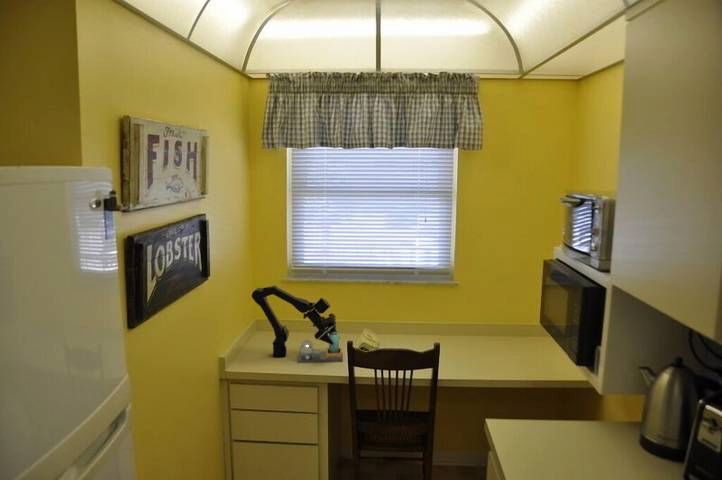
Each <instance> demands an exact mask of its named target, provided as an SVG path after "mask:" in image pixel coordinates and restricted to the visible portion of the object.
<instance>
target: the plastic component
mask: <svg viewBox="0 0 722 480" xmlns="http://www.w3.org/2000/svg"><path fill="white" fill-rule="evenodd" d="M378 346H379V335H377V333H376V332H374V331H372V330H370V329H368V328H364V329H363V330H362V333H361V334H360V335H359V337H358V339H357V342H356V346H355V349H356V348H359V350H360V349H361V348H364V349H367V350H368V351H370V350H372V349H376V350H377V349H378Z"/></svg>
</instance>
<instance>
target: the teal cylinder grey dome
mask: <svg viewBox="0 0 722 480" xmlns="http://www.w3.org/2000/svg"><path fill="white" fill-rule="evenodd" d="M328 336H329V337H330V339H331V340H332V341H333V343H334V344H333V345H331V344H329V343H328V348H329V353H339V348H340V342H339V341H340V339H339V337H340V334H339V333H338V331H337V332H330V333H328Z"/></svg>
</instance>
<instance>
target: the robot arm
mask: <svg viewBox="0 0 722 480" xmlns="http://www.w3.org/2000/svg"><path fill="white" fill-rule="evenodd" d="M251 293H252V294H251V298H252V300H253V301H254V302H255V303H256V304H257V305H258V306H259V307H260V308H261V310H262V311H263V313H264V315H265V317H266V318H267V320H268V322H269V323H270V325H271V327H272V329H273V332H274V336H275V338H274V340H273V342H272V346H273V347H272V351H273V352H272V354H273V355H272V358H285V357H286V355H287V353H288V352H287V351H288V350H287V345H286V342H287V341H288V339H289V336H290V330H289V329H288V328H287V326H286V324H285V325H284V326H283V325H282V324H281V323H280V320H279V319H278V317H277V316H276V314H275V312H274V310H273V309H272V307H271V305H270V304H269V301H268V298H267V297H269V296H271V295H273V296H276V297H277V298H279V299H281V300H282V301H285V302H286V303H288V304H290V305H291V306H293V308H295V309H296V310H297V311H298V312H299V313H302V314H303V320H305V319H308V320H309V321H310V322H311V323H312V327H315V328H316V329H317V332H315V334H314V338H315V340H319V341H322V342H324V343H327V344H328V345H329V344H331V345H333V344H334V343H333V341H332V340H331V339H330V337H329V333H330V332H337V333H338V330H337V329H336V328H337V321H336V320H337V319H336V315H335V314H334V313H332V312H331V313H329V314H328V316H327V317H325V316H322V315H323V314H324V313H325V312H327V311H328V309H330V308H331V304H330V303H329V302H328V301H327V300H326V299H323V297H320V298H319V299H318V300H317V301H316V302H311V301H308V300H307V299H304V298H302V297H295V295H292V294H290V293H289V292H287V291H285V290H283V289H282V288H279V287H278V286H276V285H272V286H266V287H257V288H255V289H254V290H253V291H252V292H251ZM321 314H322V315H321ZM340 339H341V338H340V336H339V340H340Z"/></svg>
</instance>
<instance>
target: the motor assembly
mask: <svg viewBox="0 0 722 480" xmlns="http://www.w3.org/2000/svg"><path fill="white" fill-rule="evenodd" d="M314 346H315V345H314V343H313V342H312V341H311V340H309V339H307V340H306V339H305V340H303V341H302V342H301V344H300V347H299V352H298V353H299V354H298V355H299V356H298V359H297V362H298V363H343V361H344V360H343V347H339V353H329V347H326V348H325V351H321V348H320V349H318V348H317V349H316V348H314Z"/></svg>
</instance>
